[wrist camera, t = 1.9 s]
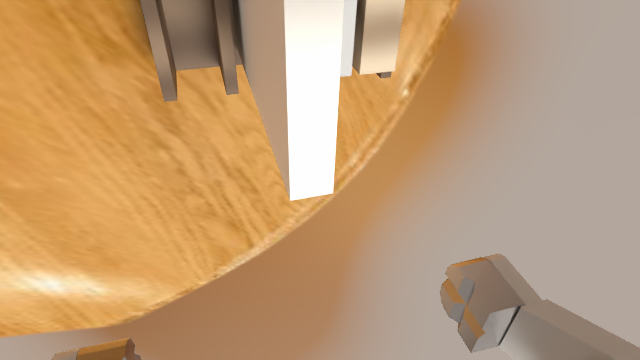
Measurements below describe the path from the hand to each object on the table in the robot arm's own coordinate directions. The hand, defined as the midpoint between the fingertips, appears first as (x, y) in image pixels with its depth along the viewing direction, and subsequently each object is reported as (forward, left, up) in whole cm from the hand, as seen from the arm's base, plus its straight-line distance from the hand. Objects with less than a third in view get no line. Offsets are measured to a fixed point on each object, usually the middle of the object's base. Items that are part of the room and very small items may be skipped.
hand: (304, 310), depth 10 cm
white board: (-1, +3, -32) cm, 32 cm away
